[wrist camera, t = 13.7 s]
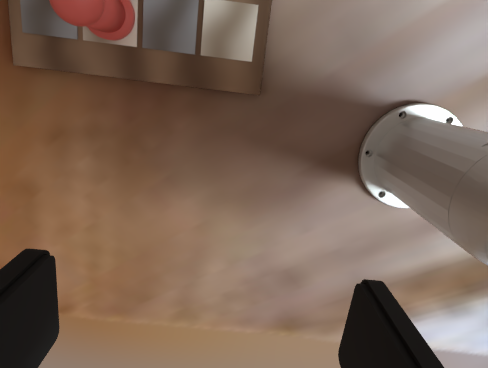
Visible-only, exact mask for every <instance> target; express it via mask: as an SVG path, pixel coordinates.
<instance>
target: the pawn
mask: <svg viewBox="0 0 488 368" xmlns="http://www.w3.org/2000/svg"><path fill="white" fill-rule="evenodd" d="M49 1H50V4H51V6H52V8H53V10H54V11H55V12H56V14H57V15H58V16H59V17H60V18H61V19H63V20H64V21H66V22H67V23H69V24H71V25H74V26H81V27H84V26H86V27H88V28H89V30H90V31H91V32H92V33H94V34H95V35H96V36H98V37H100V38H103V39H107V40H113V41H115V40H120V39H123V38H125V37H126V36H127V35H128V34H129V33H130V32H131V31H132V29H133V27H134V23H135V11H134V8H133V5H132V3H131V1H130V0H49Z"/></svg>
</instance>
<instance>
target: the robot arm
mask: <svg viewBox="0 0 488 368" xmlns="http://www.w3.org/2000/svg"><path fill="white" fill-rule="evenodd" d="M400 112H401V115H400V116H399V113H400ZM446 119H447V120H446ZM367 150H368V153H367V154H365V153H366V151H367ZM358 166H359V173H360V176H361V179H362V182H363V184H364V185H365V187H366V189H367V190H368V191H369V192H370V193H371V194H372V195H373V196H374V197H375V198H376V199H377V200H379V201H381V202H383V203H384V204H386V205H389V206H392V207H396V208H411V209H412V210H413V211H415V212H416V213H417V214H419V215H420V216H421V217H422V218H424V219H425V220H426V221H428V222H429V223H430V224H432V225H433V226H434V227H435V228H437V229H438V230H439V231H441V232H442V233H443V234H444V235H446V236H447V237H448V238H450V239H451V240H452V241H454V242H455V243H456V244H457V245H459V246H460V247H461V248H463V249H464V250H465V251H467V252H468V253H470V254H471V255H472V256H474V257H475V258H476V259H478V260H480V261H481V262H483V263H484V264H486V265H488V132H484V131H480V130H475V129H471V128H467V127H463V125H462V124H461V122H460V121H459V120H458V119H457V117H456V116H455V115H453V114H452V113H451V112H450V111H448V110H446V109H444V108H442V107H440V106H436V105H432V104H425V103H414V104H408V105H404V106H400V107H398V108H396V109H394V110H391V111H389V112H388V113H387V114H385V115H384V116H382V117H381V118H380V119H379V120H378V121H377V122H376V123H375V124H374V125H373V126H372V127H371V129H370V130H369V131H368V133H367V134H366V136H365V138H364V140H363V142H362V145H361V149H360V152H359V161H358ZM379 192H380V193H379ZM58 333H59V315H58V298H57V281H56V265H55V258H54V256H50V253H49V251H47V250H38V249H25V250H23V251H22V252H21V253H20V254H18V255H17V256H16V257H15V258H14V259H12V260H11V261H10V262H9V263H8V264H6V265H5V266H4V267H3V268H2V269H0V368H38V367H39V365H40V364H41V362H42V361H43V359H44V358H45V356H46V355H47V353H48V352H49V350H50V349H51V347H52V346H53V344H54V343H55V341H56V339H57V337H58ZM338 356H339V363H340V366H341V368H444V367H443V365H442V364H441V362H440V361H439V360H438V358H437V357H436V355H435V354H434V353H433V351H432V350H431V348H430V347H429V346H428V344H427V343H426V341H425V340H424V338H423V337H422V336H421V334H420V333H419V331H418V330H417V329H416V327H415V326H414V324H413V323H412V322H411V320H410V319H409V317H408V316H407V315H406V313H405V312H404V310H403V309H402V308H401V306H400V305H399V303H398V302H397V300H396V299H395V298H394V296H393V295H392V293H391V292H390V291H389V289H388V288H387V286H386V285H385V284H384V283H383V282H382V281H376V280H365V279H364V280H362V282H361V284H357V285H356V286H355V289H354V293H353V297H352V301H351V305H350V309H349V313H348V316H347V320H346V324H345V328H344V332H343V336H342V340H341V344H340V347H339V354H338Z"/></svg>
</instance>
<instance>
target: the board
mask: <svg viewBox="0 0 488 368" xmlns="http://www.w3.org/2000/svg"><path fill="white" fill-rule="evenodd" d="M130 1H131V3H132V5H133V8H134V11H135V23H134V27H133V29H132V31H131V32H130V33H129V34H128V35H127V36H126V37H125V38H123V39H120V40H115V41H113V40H107V39H103V38H100V37H98V36H96V35H95V34H94V33H92V32H91V31H90V30H89V28H88V27H86V26H84V27H81V26H74V25H71V24H69V23H67V22H66V21H64V20H63V19H61V18H60V17H59V16H58V15H57V14H56V12H55V11H54V10H53V8H52V6H51V4H50V1H49V0H8V7H9V19H10V31H11V42H12V54H13V65H17V66H25V67H33V68H42V69H50V70H58V71H66V72H74V73H82V74H90V75H99V76H107V77H115V78H123V79H131V80H139V81H147V82H155V83H164V84H172V85H180V86H188V87H196V88H204V89H212V90H221V91H229V92H237V93H245V94H253V95H260V89H261V81H262V73H263V65H264V58H265V50H266V42H267V35H268V27H269V19H270V12H271V4H272V0H130Z"/></svg>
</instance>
